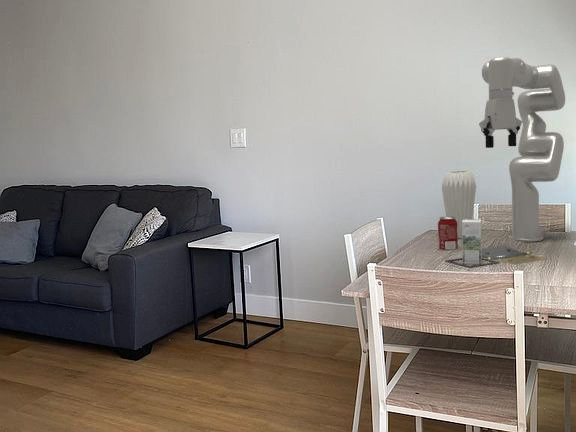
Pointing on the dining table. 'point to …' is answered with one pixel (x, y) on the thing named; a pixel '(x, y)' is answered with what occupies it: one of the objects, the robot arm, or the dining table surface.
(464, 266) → the gray rectangular frame
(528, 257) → the fixed leaf
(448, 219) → the soda can
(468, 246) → the syrup box
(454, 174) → the vase
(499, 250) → the gray hinge leaf
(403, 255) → the dining table surface
